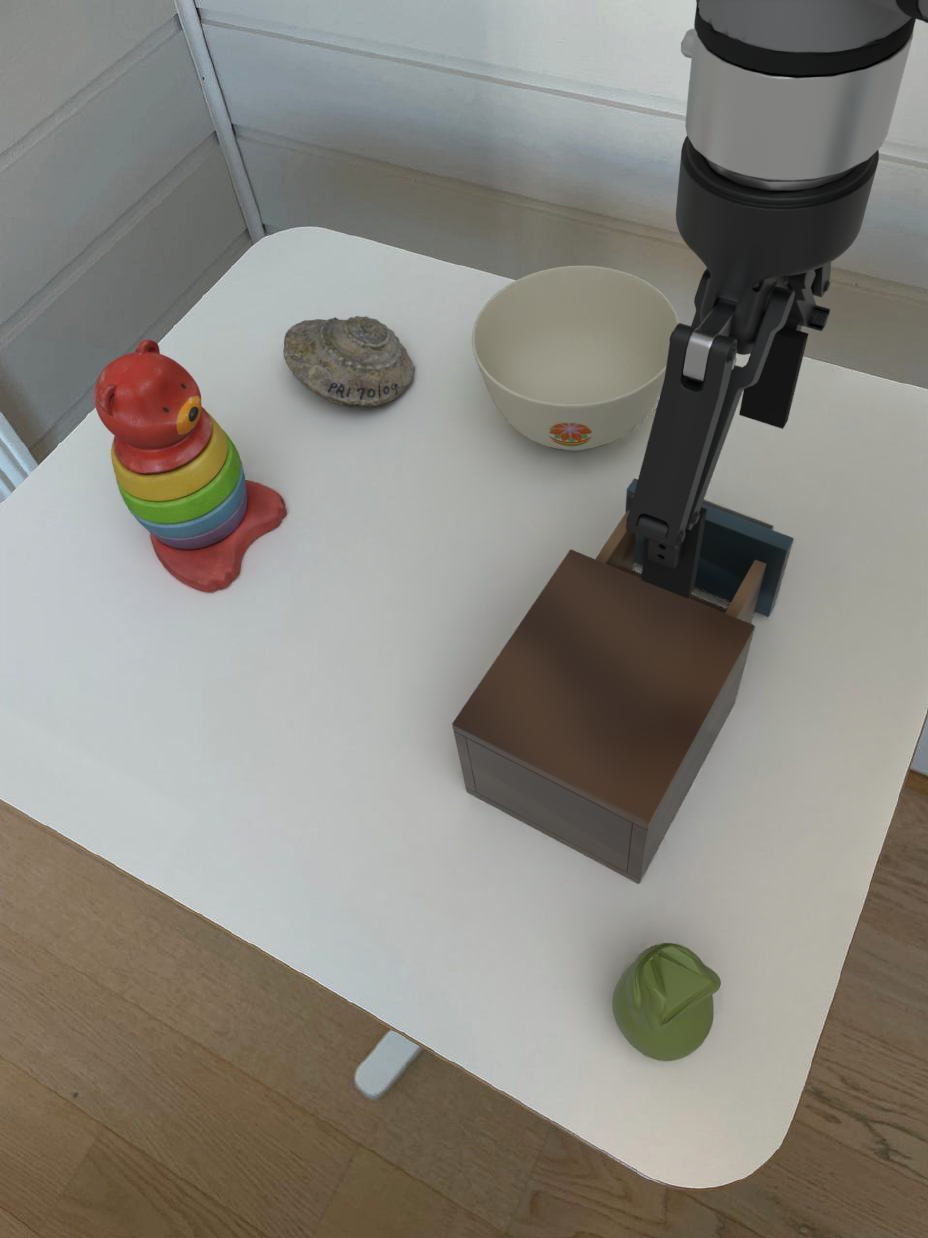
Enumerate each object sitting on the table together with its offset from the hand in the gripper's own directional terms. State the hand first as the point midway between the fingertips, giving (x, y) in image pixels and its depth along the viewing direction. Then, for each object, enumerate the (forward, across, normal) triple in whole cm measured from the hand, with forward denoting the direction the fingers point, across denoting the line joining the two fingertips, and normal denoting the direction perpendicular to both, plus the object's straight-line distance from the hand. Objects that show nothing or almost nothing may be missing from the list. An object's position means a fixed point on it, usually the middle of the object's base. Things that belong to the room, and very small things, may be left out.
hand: (717, 497), depth 57 cm
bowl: (+18, -18, -18) cm, 31 cm away
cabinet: (+18, +9, -2) cm, 20 cm away
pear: (+18, +23, +8) cm, 31 cm away
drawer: (+17, -2, -2) cm, 17 cm away
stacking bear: (+18, +6, -39) cm, 44 cm away
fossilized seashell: (+18, -14, -39) cm, 45 cm away
